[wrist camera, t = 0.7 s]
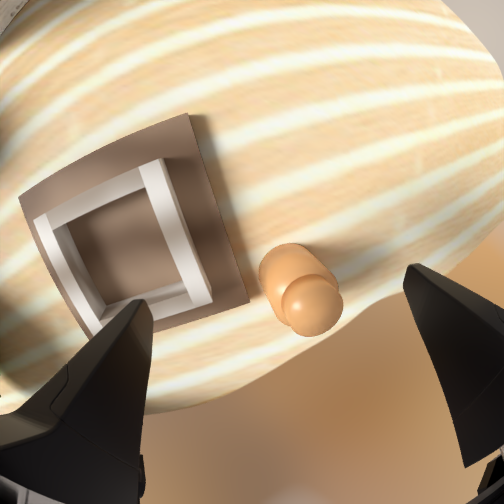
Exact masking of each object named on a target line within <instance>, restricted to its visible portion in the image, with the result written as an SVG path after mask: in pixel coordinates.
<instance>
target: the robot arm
mask: <svg viewBox="0 0 504 504" xmlns="http://www.w3.org/2000/svg"><path fill="white" fill-rule="evenodd" d="M403 289H404V292H405V295H406V297H407V300H408V303H409V305H410V308H411V311H412V314H413V317H414V320H415V322H416V325H417V327H418V330H419V332H420V334H421V337H422V339H423V341H424V343H425V346H426V348H427V350H428V353H429V355H430V358H431V360H432V363H433V365H434V368H435V370H436V373H437V376H438V378H439V381H440V384H441V387H442V389H443V392H444V395H445V398H446V401H447V404H448V407H449V410H450V413H451V417H452V420H453V424H454V427H455V431H456V435H457V439H458V442H459V446H460V450H461V455H462V459H463V464H464V467H465V468H467V467H469V466H471V465H472V464H474V463H476V462H478V461H480V460H481V459H483V458H484V457H486V456H488V455H489V454H491V453H493V452H494V451H495V450H497V449H500V452H501V454H500V455H498V456H497V457H496V458H494V459H493V460H492V461H490V462H489V463H488V464H487V467H486V470H485V472H484V475H483V478H482V480H481V482H480V485H479V487H478V490H477V492H478V496H477V497H475V498H474V499H472V500H471V501H469V502H468V503H466V504H504V309H503V308H501V307H499V306H498V305H496V304H493V303H492V302H490V301H489V300H487V299H485V298H483V297H482V296H480V295H478V294H476V293H475V292H473V291H471V290H469V289H467V288H465V287H464V286H462V285H460V284H458V283H456V282H454V281H452V280H450V279H449V278H447V277H445V276H443V275H441V274H439V273H437V272H435V271H433V270H431V269H429V268H427V267H425V266H423V265H421V264H419V263H415V264H410V265H408V267H407V270H406V274H405V278H404V282H403ZM153 327H154V319H153V315H152V313H151V311H150V309H149V307H148V304H147V302H146V301H145V300H144V299H134V300H132V301H131V302H130V303H129V304H127V305H126V306H125V307H124V308H123V309H122V310H121V311H120V312H119V313H118V314H117V315H116V316H115V317H114V318H113V319H111V320H110V321H109V322H108V323H107V324H106V325H105V326H104V327H103V328H102V329H101V330H100V331H99V332H98V333H97V334H96V335H95V336H94V337H93V338H92V339H91V340H90V341H89V342H88V343H87V344H86V345H85V346H84V347H82V348H81V349H80V350H79V351H78V352H77V353H76V354H75V355H74V356H73V357H72V358H71V359H70V360H69V361H68V364H65V365H64V367H63V368H62V369H61V370H60V371H59V372H58V373H57V374H56V375H55V376H54V377H53V378H52V379H51V380H49V381H48V382H47V383H46V384H45V385H44V386H43V387H42V388H41V389H40V390H38V391H37V392H36V393H35V394H34V395H33V396H32V397H31V398H30V399H28V400H27V401H26V402H25V403H24V404H23V405H22V406H21V407H20V408H18V409H17V410H15V411H14V412H11V413H9V414H4V415H0V504H140V498H141V497H142V496H143V494H144V491H145V484H146V482H145V481H146V479H145V471H144V462H143V455H142V454H140V444H141V433H142V425H143V416H144V407H145V400H146V393H147V386H148V379H149V373H150V366H151V357H152V341H153Z"/></svg>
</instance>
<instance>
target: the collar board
mask: <svg viewBox="0 0 504 504" xmlns="http://www.w3.org/2000/svg"><path fill="white" fill-rule="evenodd" d="M18 198H19V201H20V204H21V207H22V210H23V213H24V215H25V218H26V221H27V223H28V226H29V228H30V231H31V233H32V236H33V238H34V241H35V243H36V245H37V247H38V250H39V252H40V254H41V256H42V258H43V260H44V263H45V265H46V267H47V269H48V271H49V273H50V275H51V277H52V279H53V280H54V282H55V284H56V286H57V288H58V290H59V292H60V293H61V295H62V297H63V299H64V300H65V302H66V304H67V306H68V307H69V309H70V311H71V312H72V314H73V316H74V317H75V319H76V320H77V322H78V324H79V325H80V327H81V328H82V330H83V331H84V333H85V334H86V336H87V337H88V339H89V340H91V339H92V338H93V337H94V336H95V335H96V334H97V333H98V332H99V331H100V330H101V329H102V328H103V327H104V326H105V325H106V324H107V323H108V322H109V321H110V320H111V319H113V318H114V317H115V316H116V315H117V314H118V313H119V312H120V311H121V310H122V309H123V308H124V307H125V306H126V305H127V304H129V303H130V302H131V301H132V300H134V299H144V300H145V301H146V302H147V304H148V307H149V309H150V311H151V313H152V315H153V319H154V327H153V333H156V332H159V331H162V330H166V329H169V328H172V327H176V326H179V325H182V324H185V323H189V322H192V321H195V320H198V319H201V318H204V317H208V316H211V315H214V314H217V313H220V312H223V311H226V310H229V309H232V308H235V307H238V306H241V305H244V304H247V303H250V300H249V297H248V295H247V292H246V289H245V286H244V283H243V280H242V277H241V274H240V271H239V269H238V266H237V263H236V260H235V257H234V254H233V251H232V248H231V245H230V242H229V239H228V236H227V233H226V230H225V227H224V224H223V221H222V218H221V215H220V212H219V209H218V206H217V203H216V200H215V197H214V194H213V191H212V188H211V185H210V182H209V179H208V176H207V173H206V170H205V167H204V163H203V160H202V157H201V154H200V151H199V148H198V145H197V142H196V138H195V135H194V132H193V129H192V126H191V122H190V119H189V116H188V113H185V114H182V115H179V116H176V117H173V118H171V119H168V120H165V121H162V122H160V123H157V124H155V125H152V126H150V127H147V128H145V129H142V130H140V131H137V132H135V133H133V134H130V135H128V136H126V137H123V138H121V139H119V140H117V141H115V142H112V143H110V144H108V145H106V146H104V147H102V148H100V149H98V150H96V151H94V152H92V153H90V154H88V155H86V156H84V157H82V158H81V159H79V160H77V161H75V162H73V163H71V164H70V165H68V166H66V167H64V168H63V169H61V170H59V171H58V172H56V173H54V174H53V175H51V176H49V177H48V178H46V179H44V180H43V181H41V182H40V183H38V184H37V185H35V186H34V187H32V188H31V189H29V190H28V191H26V192H25V193H23V194H22V195H20V196H19V197H18Z"/></svg>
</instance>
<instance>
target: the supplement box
mask: <svg viewBox="0 0 504 504" xmlns="http://www.w3.org/2000/svg"><path fill="white" fill-rule="evenodd" d="M27 2H28V0H0V35H1V34H2V33H3V31H4V30H5V28H6V27H7V26H8V25H9V23H10V22H11V21H12V19H13V18H14V17H15V16H16V14H17V13H18V12H19V11H20V10H21V8H22V7H23V6H24V5H25V4H26V3H27Z"/></svg>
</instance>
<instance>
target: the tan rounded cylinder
mask: <svg viewBox="0 0 504 504" xmlns="http://www.w3.org/2000/svg"><path fill="white" fill-rule="evenodd" d="M259 280H260V283H261V285H262V287H263V290H264V292H265V294H266V296H267V298H268V300H269V302H270V304H271V307H272V309H273V311H274V313H275V315H276V317H277V318H278V319H279V320H280V321H281V322H282V323H283V324H285V325H287V326H290V327H291V328H292V329H293V331H294V332H296V333H297V334H299V335H301V336H305V337H312V336H317V335H320V334H323V333H325V332H326V331H328V330H329V329H331V328H332V327H333V326H334V325H335V324H336V323H337V321H338V320H339V318H340V316H341V314H342V311H343V299H342V297H341V295H340V294H339V293H338V291H339V290H338V283H337V280H336V278H335V277H334V275H333V274H332V273H331V272H330V271H329V270H328V269H327V268H326V267H325V266H324V265H323V264H322V263H321V262H320V261H319V260H318V259H316V258H315V257H314V256H313V255H312V254H311V253H310V252H309V251H308V250H307V249H306V248H305V247H303V246H301V245H298V244H294V243H287V244H282V245H279V246H277V247H275V248H273V249H272V250H270V251H269V252H268V253H267V254H266V255H265V257H264V258H263V260H262V262H261V264H260V267H259Z"/></svg>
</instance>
